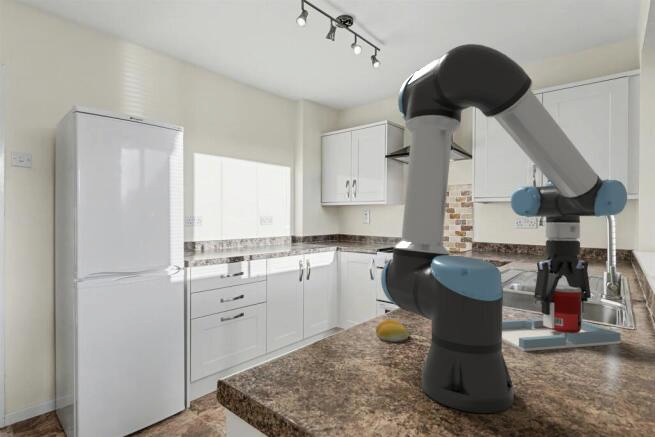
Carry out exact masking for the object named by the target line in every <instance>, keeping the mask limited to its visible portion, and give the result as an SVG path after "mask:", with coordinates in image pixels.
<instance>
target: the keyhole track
mask: <svg viewBox="0 0 655 437" xmlns="http://www.w3.org/2000/svg"><path fill="white" fill-rule="evenodd" d="M621 340H622V339H621V332H619V331H616V330H612V329H609V328H605V327H602V326H599V325H596V324H593V323H589V322H588V321H583V320H582V327H581V330H580V332H578V333H565V332H559V331H554V330H551V329H549V328H547V327H546V326H544V325H543V317H541V318H540V317H537V318H528V319H527V320H526V319H525V320H522V319H505V320H503V319H502V342H504V343H505V344H506V343H507V344H508V345H511V347H514V348H516V349H518V350H520V351H523V352H531V351H532V352H533V351H541V350H542V351H544V350H555V349H568V348H569V349H570V348H578V347H579V348H580V347H593V346H605V345H606V346H607V345H618V344H621V342H622V341H621Z"/></svg>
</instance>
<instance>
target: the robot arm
mask: <svg viewBox="0 0 655 437" xmlns="http://www.w3.org/2000/svg"><path fill="white" fill-rule="evenodd" d="M532 87H533V80H532V79H531V78H530V76H529V75H528V73H527V72H526V71H525V70H524V68H523V67H522V66H520V65H519V64H518V63H517V62H516V61H515V60H513V59H512V58H510V57H509V56H508V55H506V54H505V53H503V52H501V51H499V50H497V49H495V48H493V47H489V46H486V45H483V44H477V43H475V44H474V43H469V44H461V45H458V46H455V47H453V48H452V49H450V50H448V51H447V52H446V53H444V54H443V55H441V56H440V57H438V58H436V59H434V61H432V62H430V63H429V64H426V66H424V67H422V68H419V69H418V70H416V71H414V73H412V74H411V75H410V76H409V77H408V78H407V79H406V80H405V81H404V82H403V84H402V85H401V88H400V90H399V94H398V97H397V100H398V101H397V102H398V103H397V105H398V109H399V112H400V113H401V114H402V118H403V119H404V121H405V124H404V125H405V128H406V129H407V130H408V131H409V133H410V134H411V135H410V144H409V154H408V155H409V156H408V166H407V177H406V178H407V179H406V189H405V198H404V200H405V201H404V210H403V219H402V220H403V222H402V231H401V239H400V240H399V242H397V243H396V244H395V245H394V246H393V251H392V257H391V258H390V259H388V261H387V262H386V263H385V264H384V265H383V267H382V269H381V270H382V271H381V276H380V280H381V281H380V282H381V283H380V284H381V288H382V291H383V293H384V295H385V297H386V298H387V300H388V301H390V302H391V303H392V304H393V305H394V306H397V307H398V308H399V309H401V310H403V311H405V312H411V313H412V314H415V315H416V316H417V315H418V316H420V317H422V318H425V319H428V320H430V321H431V343H430V346H429V350H428V353H427V356H426V358H425V362H424V364H423V367H422V370H421V388H422V390H423V391H424V393H425V394H426V395H427V396H428V397H429V398H431V399H433V400H434V401H436V402H437V403H439V404H442V405H443V406H446V407H449V408H452V409H455V410H459V411H462V412H463V411H464V412H467V413H468V412H469V413H477V414H491V413H492V414H494V413H499V412H502V411H505V410H507V409H509V408H511V406H512V405H513V403H514V394H515V393H514V384H513V382H512V379H511V376H510V375H511V374H510V373H509V370H508V366H507V363H506V360H505V358H504V354H503V348H502V347H503V341H502V320H503V297H504V296H503V295H504V288H503V282H502V274H501V271H500V269H499V267H497V266H496V264H493V263H491V262H490V261H488V260H487V261H486V260H483V259H479V258H476V257H472V256H462V255H454V254H453V255H452V254H451V255H450V252H449V251H448V249H447V248H446V247H445V246H444V244H443V243H444V242H443V240H444V228H445V220H446V219H445V218H446V217H445V216H446V207H447V195H448V185H449V184H448V182H449V174H450V172H449V171H450V161H451V160H450V159H451V149H452V138H453V137H452V136H453V134H454V133H455V132H457V131H458V130H459V129H460V128H461V120H462V111H463V110H466V109H468V108H471V107H473V108H475V109H478V110H479V111H480V112H482V113H481V114H483V116H484V117H486V118H494V119H495V120H496V121H497V123H499V125H500V126H501V127H502V129H503V130H504V131H506V132H507V133H506V134H508V135H509V136H510V137H511V138H512V140H513V141H514V142H515V143H516V145H517V146H518V147H519V148H520V149H521V150H522V151H523V153H524V154H525V155H527V157H528V158H529V160H531V162H532V163H533V164H534V165H535V166H536V168H537V169H538V170H540V172H541V173H542V175H544V176H545V178H546V179H547V180H548V182H546V185H543V186H542V185H541V186H534V185H528V186H521V187H519V188H517V189H515V190H514V191H513V193H512V194H511V198H510V207H511V209H512V211H513V212H514V213H515V214H516V215H518V216H520V217H526V218H533V217H535V218H536V217H540V218H543V217H544V218H545V238H546V241H545V252H546V254H547V255H548V256H547V259H546V260H545V261H542V260H541V261H539V260H538V261H537V262H536V266H537V275H536V281H535V286H534V287H535V288H534V294H533V297H534V299H536V300H538V301H540V302H541V314H543V316H542V318H543V325H544V326H546V327H549V328H554V303H552V302H551V301H552V298H553V295H554V292H555V288H556V287H557V285H559V284H558V283H559V281H560V280H561V279H562V278H563V277H565V278H566V281H567V284H568V286H571V287H575V288H580V289H581V327H582V321H583V313H584V307H585V306H584V303H586V302H588V301H589V299H591V297H592V295H591V287H590V281H589V280H590V279H589V273H588V270H589V269H588V267H589V262H588V261H585V260H579V258H578V256H579V255H580V254H581V241H579V240H578V239H580V237H581V226H580V225H581V224H580V223H581V217H598V218H599V217H605V216H606V217H607V216H616V215H619V214H621V213H622V212H623V211H624V210H625V207H626V205H627V202H628V192H627V189H626V187H625V185H624V183H622V181H619V180H617V179H607V178H606V179H604V180H603V179H601V177H600V176H599V175H598V173H596V171H595V170H594V169H593V168H592V167H591V165H590V163H589V162H588V161H587V160H586V159H585V157H584V156H583V155H582V154H581V152H580V150H579V149H578V148H577V147H576V146H575V144H573V141H571V139H570V138H569V137H568V136H567V134H566V133H565V132H564V131H563V129H562V128H561V126H560V125H559V124H558V123H557V121H556V120H555V119H554V118H553V116H552V115H551V113H549V111H548V110H547V109H546V108H545V106H544V105H543V104H542V102H541V101H540V100H539V99H538V97H537V96H536V95H535V93H534V92H533V91H532ZM546 296H547V297H546Z"/></svg>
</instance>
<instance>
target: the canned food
mask: <svg viewBox="0 0 655 437" xmlns="http://www.w3.org/2000/svg"><path fill="white" fill-rule="evenodd" d="M546 297H547V296H546ZM551 302H552V303H554V328H549V327H547V328H549V329H551V330H554V331H559V332H565V333H578V332H580V330H581V289H580V288H575V287H571V286H569V284H568V285H567V284H557V287H556V288H555V292H554V295H553V298H552V301H551Z"/></svg>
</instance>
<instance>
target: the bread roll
mask: <svg viewBox="0 0 655 437" xmlns="http://www.w3.org/2000/svg"><path fill="white" fill-rule="evenodd" d="M375 333H376V335H377V336H378V339H380V340H383V341H385V342H387V341H388V342H393V343H394V342H402V341H405V340H407V339H408V337H409V330H408V329H407V327H405V326H404V325H403V323H401V322H400V321H398V320H394V319H384V320H383V321H381V322H379V323H378V324H377V325H376V326H375Z"/></svg>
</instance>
